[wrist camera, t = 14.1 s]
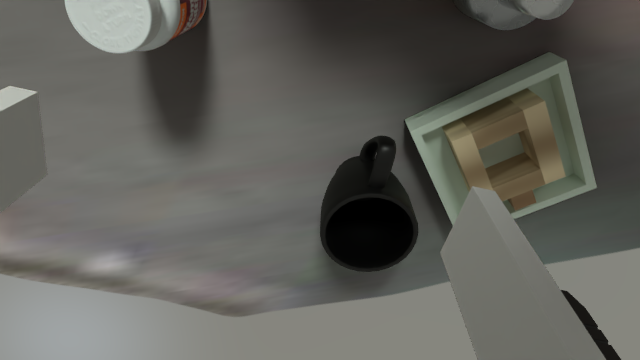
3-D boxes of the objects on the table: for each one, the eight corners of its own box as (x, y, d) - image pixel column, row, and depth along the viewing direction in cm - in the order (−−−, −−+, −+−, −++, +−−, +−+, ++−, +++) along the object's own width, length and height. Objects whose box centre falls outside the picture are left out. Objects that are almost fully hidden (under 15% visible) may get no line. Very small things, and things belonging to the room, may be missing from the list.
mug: (422, 115, 39) (447, 160, 31) (389, 217, 45) (403, 278, 37) (337, 100, 39) (339, 142, 30) (315, 205, 44) (312, 265, 36)
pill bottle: (214, 29, 36) (172, 60, 26) (144, 33, 36) (76, 66, 26) (200, -53, 33) (145, -52, 23) (124, -47, 33) (37, -45, 23)
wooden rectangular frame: (441, 126, 39) (451, 142, 36) (527, 88, 37) (544, 100, 34) (473, 203, 43) (484, 222, 40) (551, 171, 41) (569, 189, 38)
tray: (404, 119, 39) (409, 131, 37) (549, 51, 36) (566, 59, 34) (451, 223, 45) (459, 240, 43) (580, 172, 42) (596, 187, 39)
